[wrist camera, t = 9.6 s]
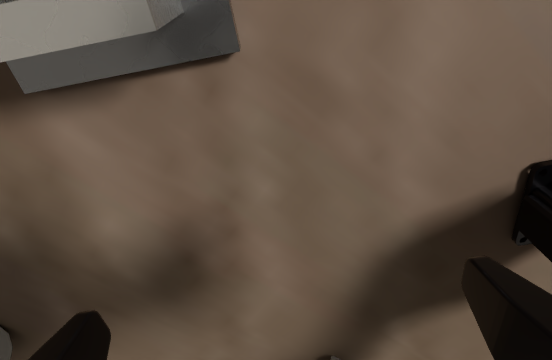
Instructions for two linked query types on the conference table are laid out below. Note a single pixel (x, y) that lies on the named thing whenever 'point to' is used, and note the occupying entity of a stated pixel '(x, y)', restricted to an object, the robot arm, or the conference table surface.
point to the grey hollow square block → (76, 23)
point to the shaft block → (135, 49)
